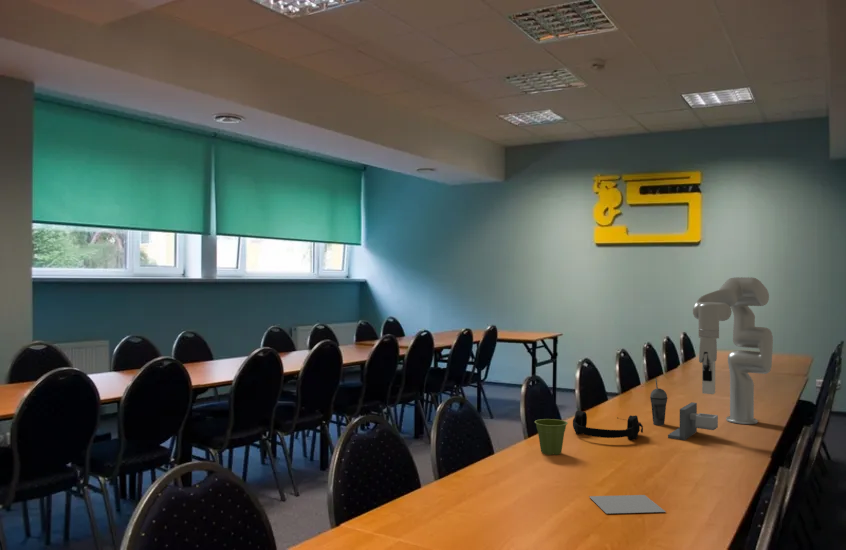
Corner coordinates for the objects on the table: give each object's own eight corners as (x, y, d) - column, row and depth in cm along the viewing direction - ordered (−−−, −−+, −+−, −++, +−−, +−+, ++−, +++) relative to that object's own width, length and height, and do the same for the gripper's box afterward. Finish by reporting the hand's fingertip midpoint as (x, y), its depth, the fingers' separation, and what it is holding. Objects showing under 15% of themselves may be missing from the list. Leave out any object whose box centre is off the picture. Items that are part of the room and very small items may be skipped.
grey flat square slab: (578, 488, 201) (578, 486, 201) (657, 486, 203) (657, 484, 203) (606, 515, 178) (606, 513, 178) (695, 513, 180) (695, 510, 180)
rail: (704, 391, 266) (704, 357, 266) (715, 392, 264) (715, 357, 264) (702, 393, 263) (702, 358, 263) (713, 394, 261) (713, 358, 261)
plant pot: (569, 450, 244) (569, 419, 244) (565, 458, 233) (565, 426, 233) (537, 447, 248) (537, 417, 248) (531, 455, 237) (531, 424, 237)
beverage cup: (668, 426, 284) (668, 379, 284) (651, 425, 286) (651, 379, 286) (666, 422, 291) (666, 377, 291) (648, 422, 293) (648, 376, 293)
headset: (630, 428, 281) (630, 408, 281) (655, 443, 255) (655, 421, 255) (565, 429, 280) (565, 408, 280) (583, 444, 253) (583, 421, 253)
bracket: (680, 429, 278) (680, 401, 278) (720, 435, 269) (721, 405, 269) (667, 437, 264) (667, 407, 264) (710, 443, 254) (710, 412, 254)
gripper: (703, 332, 272) (703, 376, 272) (693, 335, 259) (693, 382, 259) (723, 333, 268) (723, 378, 268) (714, 336, 254) (714, 383, 254)
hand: (708, 379), depth 263 cm, fingers closed on rail, 4 cm apart
